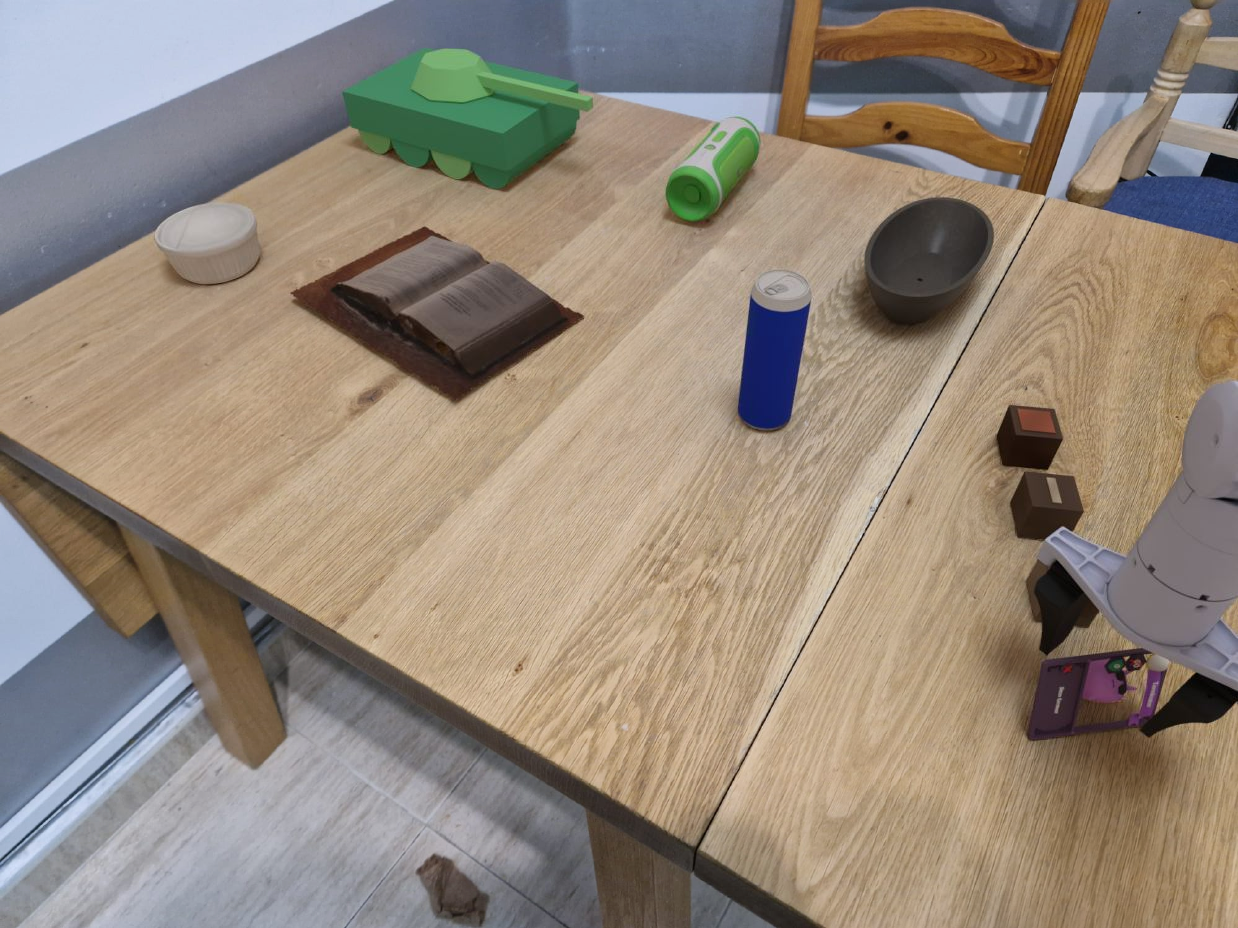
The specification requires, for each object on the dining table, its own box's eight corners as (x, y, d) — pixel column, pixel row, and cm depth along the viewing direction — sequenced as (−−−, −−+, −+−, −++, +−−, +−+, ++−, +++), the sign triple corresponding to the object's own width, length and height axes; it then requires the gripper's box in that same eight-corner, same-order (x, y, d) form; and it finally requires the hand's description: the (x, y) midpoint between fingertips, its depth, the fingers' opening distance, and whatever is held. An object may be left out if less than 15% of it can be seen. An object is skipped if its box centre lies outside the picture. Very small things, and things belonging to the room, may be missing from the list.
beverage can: (766, 391, 86) (784, 260, 75) (801, 419, 83) (826, 288, 72) (726, 411, 84) (739, 280, 73) (761, 441, 81) (780, 309, 70)
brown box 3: (1077, 586, 69) (1097, 554, 66) (1088, 627, 66) (1109, 596, 63) (1025, 580, 69) (1042, 548, 67) (1034, 621, 67) (1052, 590, 64)
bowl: (829, 325, 94) (839, 276, 89) (897, 233, 106) (909, 186, 102) (940, 361, 89) (956, 311, 85) (997, 260, 102) (1013, 213, 97)
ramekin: (157, 261, 104) (139, 222, 101) (245, 230, 109) (231, 191, 105) (191, 302, 98) (173, 262, 94) (283, 267, 103) (270, 227, 99)
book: (456, 408, 85) (452, 372, 82) (289, 298, 98) (280, 263, 95) (590, 325, 97) (591, 290, 94) (426, 236, 109) (422, 203, 106)
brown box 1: (1040, 440, 81) (1055, 407, 78) (1047, 470, 78) (1064, 438, 75) (995, 436, 81) (1009, 403, 78) (1001, 466, 78) (1016, 433, 75)
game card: (1051, 671, 56) (1181, 654, 57) (1009, 623, 61) (1130, 608, 62) (1035, 748, 59) (1158, 732, 60) (996, 697, 64) (1111, 682, 64)
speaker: (714, 232, 107) (718, 176, 102) (660, 220, 110) (662, 164, 104) (761, 171, 118) (767, 117, 113) (711, 161, 121) (715, 107, 115)
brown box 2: (1057, 507, 75) (1074, 475, 72) (1066, 543, 72) (1084, 510, 69) (1009, 502, 75) (1024, 469, 72) (1016, 537, 73) (1032, 505, 70)
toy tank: (552, 117, 103) (335, 63, 116) (559, 210, 112) (356, 151, 125) (626, 65, 113) (420, 21, 126) (627, 154, 122) (434, 104, 135)
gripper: (1360, 611, 47) (1236, 731, 56) (1115, 459, 55) (1043, 586, 65) (1296, 679, 44) (1176, 793, 54) (1048, 508, 52) (983, 634, 62)
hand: (1099, 684), depth 59 cm, fingers open, 7 cm apart
